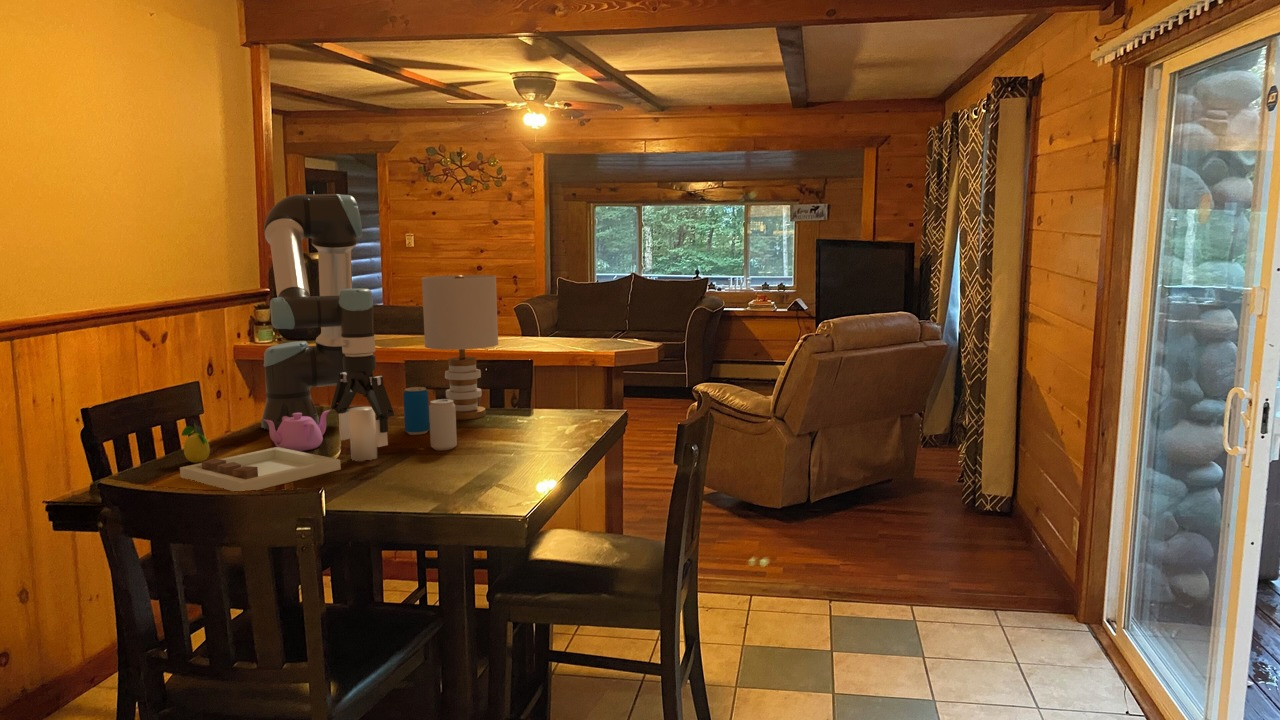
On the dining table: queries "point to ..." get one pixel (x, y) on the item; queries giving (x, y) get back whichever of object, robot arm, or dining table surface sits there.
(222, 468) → the walnut cube
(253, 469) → the walnut cube
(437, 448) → the beverage can
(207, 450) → the lemon
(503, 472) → the dining table surface
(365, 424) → the white rounded tapered cylinder
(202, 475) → the tray
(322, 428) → the teapot
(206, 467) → the walnut cube
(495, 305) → the lamp
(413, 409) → the beverage can
